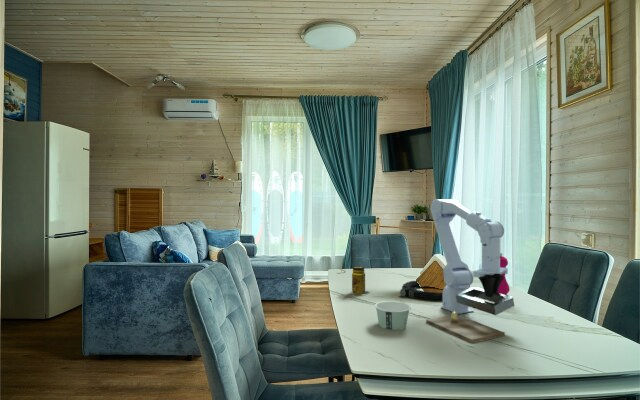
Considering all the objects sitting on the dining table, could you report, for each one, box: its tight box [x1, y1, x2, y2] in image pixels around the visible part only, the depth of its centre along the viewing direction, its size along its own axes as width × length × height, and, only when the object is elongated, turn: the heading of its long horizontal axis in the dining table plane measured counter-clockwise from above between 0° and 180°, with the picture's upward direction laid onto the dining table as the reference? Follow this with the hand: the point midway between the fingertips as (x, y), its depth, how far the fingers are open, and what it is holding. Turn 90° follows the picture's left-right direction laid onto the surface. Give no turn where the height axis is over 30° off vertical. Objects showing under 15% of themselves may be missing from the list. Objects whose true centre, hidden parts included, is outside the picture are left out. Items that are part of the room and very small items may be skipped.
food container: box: [374, 300, 411, 331], centre depth 125 cm, size 12×12×7 cm
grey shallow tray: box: [456, 286, 515, 316], centre depth 125 cm, size 16×9×3 cm, turn 25°
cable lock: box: [399, 280, 443, 302], centre depth 168 cm, size 28×4×30 cm
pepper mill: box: [497, 252, 510, 296], centre depth 158 cm, size 7×7×20 cm
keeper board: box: [425, 311, 506, 344], centre depth 121 cm, size 20×14×4 cm
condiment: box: [348, 266, 371, 296], centre depth 169 cm, size 7×8×12 cm
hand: (490, 296), depth 127 cm, fingers closed on grey shallow tray, 2 cm apart
